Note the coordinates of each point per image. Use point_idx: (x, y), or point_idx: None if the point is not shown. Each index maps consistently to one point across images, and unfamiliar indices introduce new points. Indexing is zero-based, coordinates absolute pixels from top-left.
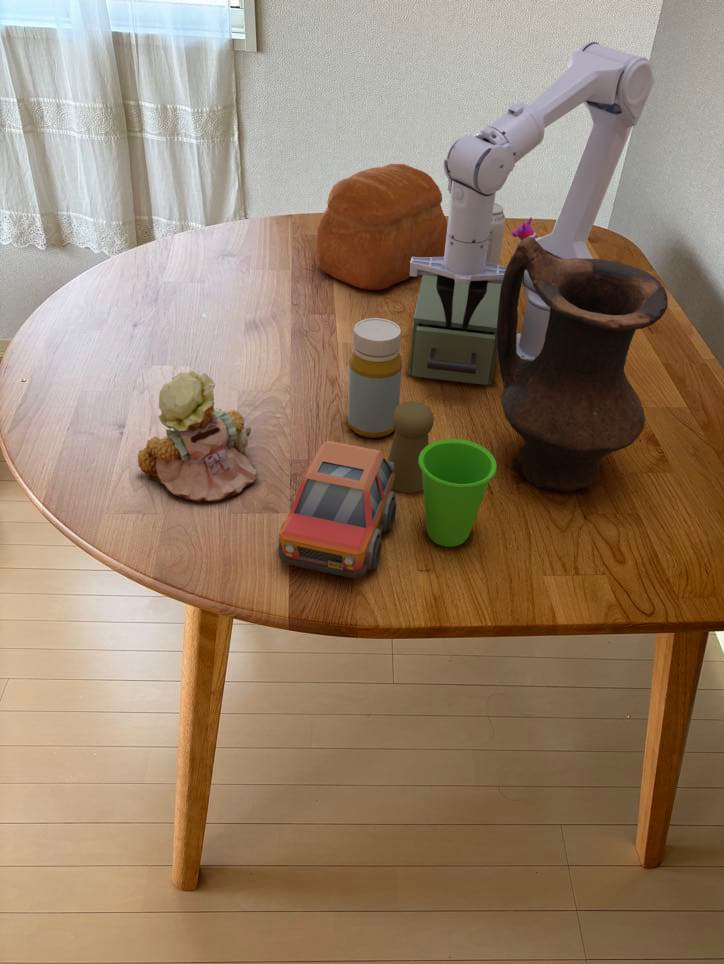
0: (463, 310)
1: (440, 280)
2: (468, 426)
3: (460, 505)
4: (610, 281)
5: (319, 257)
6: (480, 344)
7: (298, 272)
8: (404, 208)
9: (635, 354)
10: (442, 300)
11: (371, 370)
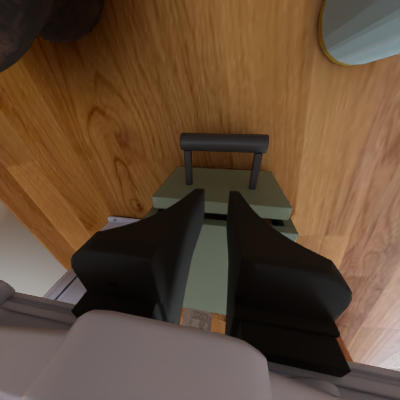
0: (206, 258)
1: (314, 334)
2: (194, 64)
3: None
4: None
5: (341, 339)
6: (176, 192)
7: (354, 324)
8: None
9: (75, 235)
10: (277, 232)
11: None
